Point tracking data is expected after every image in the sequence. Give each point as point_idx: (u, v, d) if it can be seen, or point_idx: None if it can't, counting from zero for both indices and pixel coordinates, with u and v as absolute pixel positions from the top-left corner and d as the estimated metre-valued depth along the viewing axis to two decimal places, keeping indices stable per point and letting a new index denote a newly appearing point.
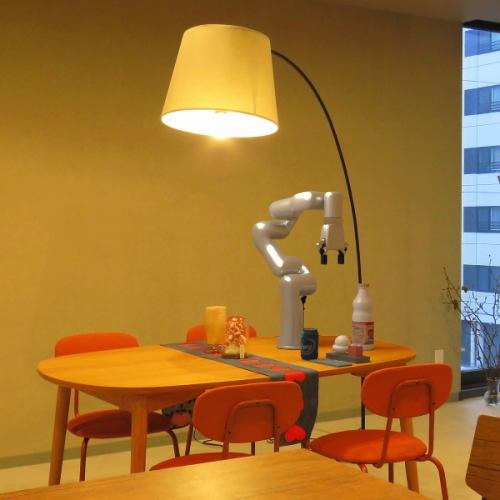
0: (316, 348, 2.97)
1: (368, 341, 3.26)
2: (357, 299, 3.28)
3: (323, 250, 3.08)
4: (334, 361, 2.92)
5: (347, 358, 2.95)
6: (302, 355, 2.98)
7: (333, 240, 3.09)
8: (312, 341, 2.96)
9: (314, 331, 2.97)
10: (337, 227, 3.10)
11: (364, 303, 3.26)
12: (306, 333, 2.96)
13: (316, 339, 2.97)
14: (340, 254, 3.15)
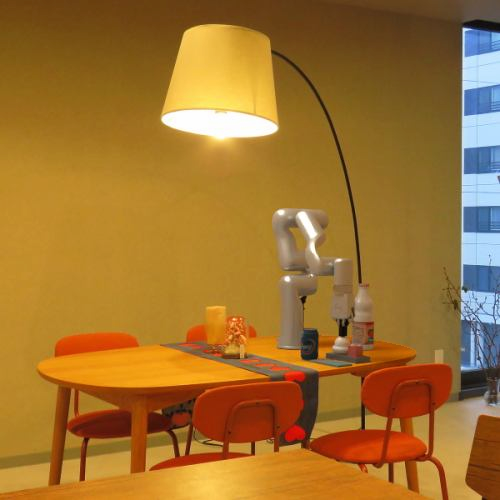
0: (316, 348, 2.97)
1: (368, 341, 3.26)
2: (357, 299, 3.28)
3: (348, 324, 3.01)
4: (334, 361, 2.92)
5: (347, 358, 2.95)
6: (302, 355, 2.98)
7: None
8: (312, 341, 2.96)
9: (314, 331, 2.97)
10: None
11: (364, 303, 3.26)
12: (306, 333, 2.96)
13: (316, 339, 2.97)
14: None
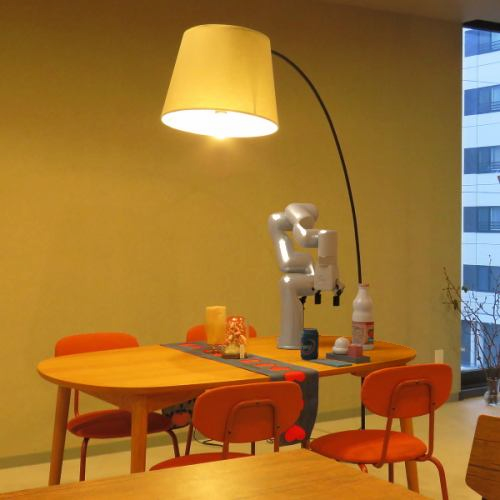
0: (316, 348, 2.97)
1: (368, 341, 3.26)
2: (357, 299, 3.28)
3: None
4: (334, 361, 2.92)
5: (347, 358, 2.95)
6: (302, 355, 2.98)
7: None
8: (312, 341, 2.96)
9: (314, 331, 2.97)
10: None
11: (364, 303, 3.26)
12: (306, 333, 2.96)
13: (316, 339, 2.97)
14: (318, 294, 3.04)
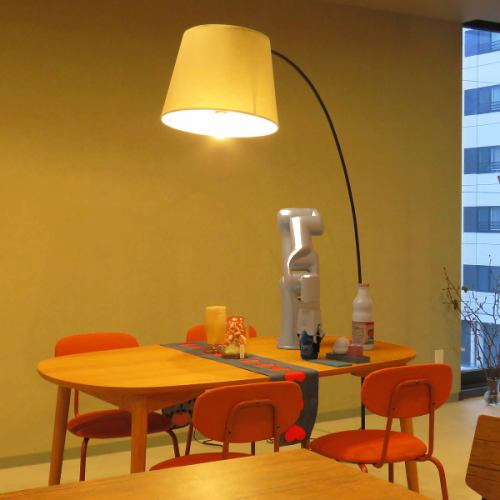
0: None
1: (368, 341, 3.26)
2: (357, 299, 3.28)
3: None
4: (334, 361, 2.92)
5: (347, 358, 2.95)
6: (302, 355, 2.98)
7: None
8: (312, 341, 2.96)
9: None
10: None
11: (364, 303, 3.26)
12: (306, 333, 2.96)
13: None
14: None
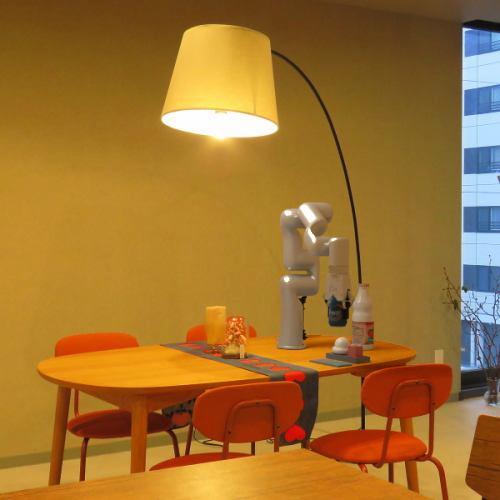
0: None
1: (368, 341, 3.26)
2: (357, 299, 3.28)
3: None
4: (334, 361, 2.92)
5: (347, 358, 2.95)
6: (330, 321, 2.86)
7: None
8: (341, 307, 2.84)
9: None
10: None
11: (364, 303, 3.26)
12: (335, 299, 2.85)
13: None
14: None
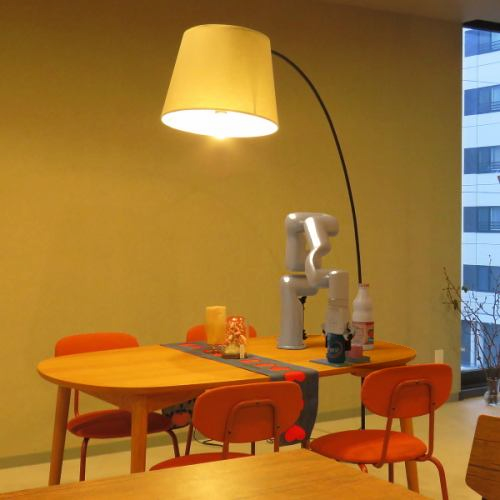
0: (343, 351, 2.86)
1: (368, 341, 3.26)
2: (357, 299, 3.28)
3: None
4: None
5: (347, 358, 2.95)
6: (329, 358, 2.87)
7: None
8: (340, 344, 2.85)
9: None
10: None
11: (364, 303, 3.26)
12: (333, 336, 2.85)
13: (343, 342, 2.86)
14: None
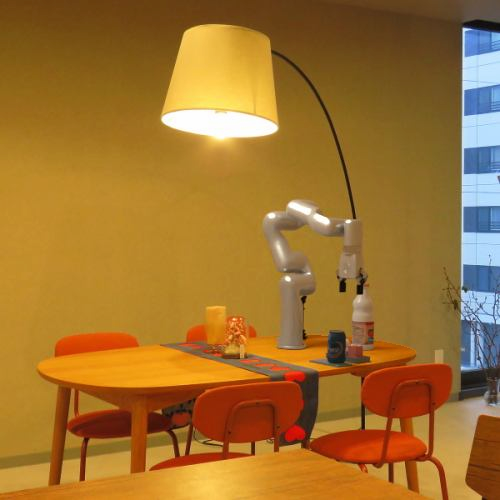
0: (343, 351, 2.86)
1: (368, 341, 3.26)
2: (357, 299, 3.28)
3: None
4: None
5: (347, 358, 2.95)
6: (329, 358, 2.87)
7: None
8: (340, 344, 2.85)
9: (341, 333, 2.86)
10: None
11: (364, 303, 3.26)
12: (333, 336, 2.85)
13: (343, 342, 2.86)
14: (343, 282, 3.09)
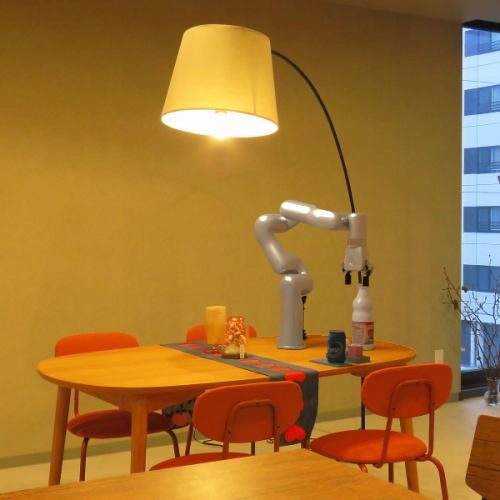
0: (343, 351, 2.86)
1: (368, 341, 3.26)
2: (357, 299, 3.28)
3: None
4: None
5: (347, 358, 2.95)
6: (329, 358, 2.87)
7: None
8: (340, 344, 2.85)
9: (341, 333, 2.86)
10: None
11: (364, 303, 3.26)
12: (333, 336, 2.85)
13: (343, 342, 2.86)
14: (348, 275, 3.16)
